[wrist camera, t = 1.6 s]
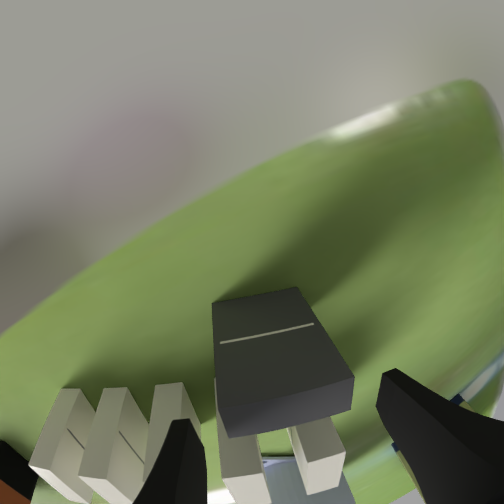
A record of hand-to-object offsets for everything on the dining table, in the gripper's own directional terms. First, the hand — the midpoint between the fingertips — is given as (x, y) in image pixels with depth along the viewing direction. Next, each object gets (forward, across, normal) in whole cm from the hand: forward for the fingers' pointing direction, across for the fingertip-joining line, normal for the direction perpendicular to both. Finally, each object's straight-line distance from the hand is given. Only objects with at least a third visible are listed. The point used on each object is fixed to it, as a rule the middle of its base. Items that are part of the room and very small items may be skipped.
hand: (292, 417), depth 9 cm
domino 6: (+8, -2, +7) cm, 11 cm away
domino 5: (+8, 0, 0) cm, 8 cm away
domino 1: (+8, +15, +7) cm, 19 cm away
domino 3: (+8, +7, +7) cm, 13 cm away
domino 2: (+8, +11, +7) cm, 16 cm away
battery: (+8, +34, +18) cm, 40 cm away
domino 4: (+8, +3, +7) cm, 11 cm away
